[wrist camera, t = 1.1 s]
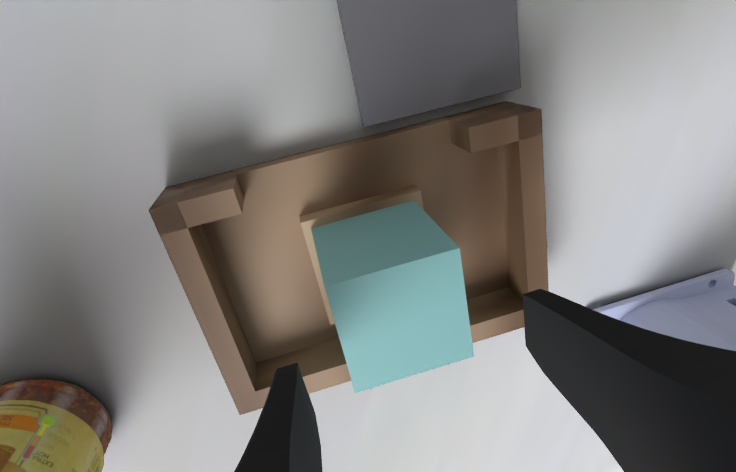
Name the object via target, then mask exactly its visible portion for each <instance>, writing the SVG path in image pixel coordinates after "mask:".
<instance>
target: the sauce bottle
mask: <svg viewBox="0 0 736 472" xmlns="http://www.w3.org/2000/svg"><path fill="white" fill-rule="evenodd" d="M111 434H112V425H111V422H110V415H109V414H108V412H107V411H106V409H105V408H104V406H103V404H102V403H100V402H99V401H98V400H97V399H96V398H95V397H94V396H93V395H92V394H90V393H88V392H87V391H86V390H84V389H82V388H81V387H79V386H77V385H74V384H71V383H66V382H64V381H57V380H51V379H28V380H20V381H16V382H9V383H6V384H4V385H3V386H1V387H0V472H101V471H102V469H103V465H104V454H105V452H106V449H107V447H108V444H109V442H110V440H111Z"/></svg>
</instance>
